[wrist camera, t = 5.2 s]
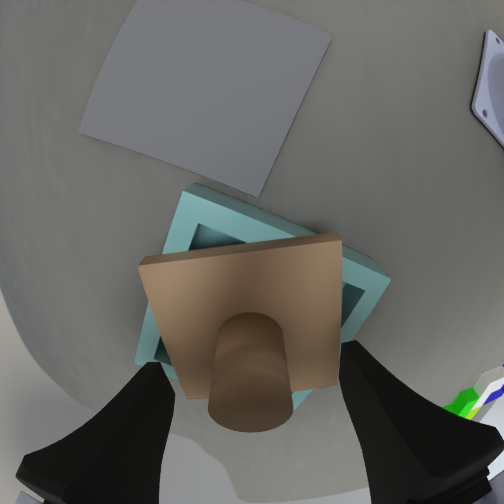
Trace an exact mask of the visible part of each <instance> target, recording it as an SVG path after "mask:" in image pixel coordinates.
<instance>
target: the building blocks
mask: <svg viewBox="0 0 504 504" xmlns="http://www.w3.org/2000/svg"><path fill="white" fill-rule="evenodd" d="M503 393H504V365H502V366H499V367H497V368H494V369H491V370H488V371H486V372H483V373H482V374H481V376H480V377H479V379H478V380H477V382H476V384H475V385H474V387H473V388H470V389H467V390H464V391H461V392H460V394H459V395H458V397H457V398H456V399H455V401H454V402H453V404H452V405H449V406H446V407H443V409H445V410H447V411H450V412H452V413H454V414H456V415H458V416H461V417H464V418H466V419H469V420H471V419H472V417H473V416H474V415H475V414H476V413H477V411H478V410H479V409H480V408H481V406H482V405H484V404H486V403H488V402H491V401H493V400H495V399H497V398H499V397H501V396H502V394H503Z"/></svg>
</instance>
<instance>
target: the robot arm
mask: <svg viewBox="0 0 504 504" xmlns="http://www.w3.org/2000/svg"><path fill="white" fill-rule="evenodd" d="M472 110H473V113H474V114H475V115H476V116H477V117H478V118H479V119H480V121H481V122H482V123H483V124H484V125H485V126H486V127H487V128H488V129H489V130H490V132H491V133H492V134H493V135H494V136H495V137H496V139H497V140H498V141H499V142H500V143H501V145H502V146H503V147H504V43H503V42H502V41H501V40H500V39H499V37H498V36H497V35H496V34H495V33H494V32H493V31H492V30H488V31H486V36H485V43H484V50H483V56H482V62H481V67H480V72H479V77H478V82H477V86H476V90H475V94H474V98H473V102H472ZM483 114H484V116H483ZM339 381H340V386H341V390H342V394H343V398H344V401H345V404H346V407H347V409H348V412H349V415H350V418H351V420H352V423H353V426H354V428H355V431H356V434H357V436H358V439H359V442H360V445H361V449H362V453H363V457H364V462H365V467H366V472H367V477H368V483H369V488H370V496H371V503H372V504H504V470H503V471H502V472H500V473H499V474H497V475H496V476H495V477H494V478H492V479H491V480H489V481H488V478H487V476H488V475H489V473H490V472H489V469H488V467H487V466H488V465H490V464H491V462H493V461H494V460H495V459H496V458H497V457H498V456H499V455H500V454H501V452H502V451H503V450H504V440H503V438H502V436H501V435H500V433H499V431H498V430H497V429H496V427H493V426H490V425H486V424H482V423H479V422H475V421H472V420H469V419H466V418H464V417H461V416H458V415H456V414H454V413H452V412H450V411H447V410H445V409H443V408H441V407H439V406H437V405H435V404H434V403H432V402H430V401H428V400H427V399H425V398H424V397H422V396H420V395H419V394H417V393H416V392H415V391H413V390H412V389H410V388H409V387H408V386H406V385H405V384H404V383H403V382H401V381H400V380H399V379H397V378H396V377H395V376H394V375H393V374H392V373H390V372H389V371H388V370H387V369H386V368H385V367H384V366H383V365H381V364H380V363H379V362H378V361H377V360H376V359H375V358H374V357H373V356H372V355H371V354H370V353H369V352H368V351H367V350H366V349H365V348H364V347H363V346H362V345H361V344H360V343H359V342H358V341H357V340H354V341H349V342H344V343H341V354H340V368H339ZM174 403H175V392H174V390H173V388H172V386H171V384H170V382H169V380H168V378H167V376H166V373H165V371H164V369H163V367H162V365H161V362H147V363H146V364H145V365H144V366H143V367H142V368H141V369H140V370H139V371H138V372H137V373H136V374H135V375H134V377H133V378H132V379H131V380H130V381H129V382H128V383H127V384H126V385H125V386H124V387H123V389H122V390H121V391H120V392H119V393H118V394H117V395H116V396H115V397H114V398H113V399H112V400H111V401H110V402H109V403H108V404H107V405H106V406H105V407H104V408H103V409H102V410H101V411H100V412H98V413H97V414H96V415H95V416H94V417H93V418H92V419H90V420H89V421H88V422H86V423H85V424H84V425H83V426H81V427H80V428H78V429H77V430H75V431H74V432H72V433H71V434H69V435H68V436H66V437H64V438H63V439H61V440H59V441H57V442H55V443H54V444H51V445H49V446H47V447H45V448H43V449H41V450H38V451H35V452H32V453H30V454H27V455H25V456H24V458H23V460H22V462H21V464H20V466H19V469H18V471H17V473H16V478H17V479H18V480H19V481H20V482H21V483H22V484H24V485H25V486H26V487H28V488H29V489H30V490H32V491H33V492H35V493H36V494H38V495H39V496H41V497H42V498H43V499H45V500H44V503H42V502H40V501H38V500H37V499H35V498H33V497H31V496H30V495H28V494H26V493H25V492H23V491H20V494H19V496H18V498H17V501H16V504H159V485H160V484H159V483H160V473H161V464H162V458H163V454H164V450H165V446H166V442H167V438H168V434H169V430H170V426H171V421H172V417H173V412H174Z"/></svg>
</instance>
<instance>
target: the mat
mask: <svg viewBox="0 0 504 504" xmlns="http://www.w3.org/2000/svg"><path fill="white" fill-rule="evenodd" d="M332 37H333V35H331V34H329V33H327V32H325V31H322V30H320V29H318V28H316V27H314V26H311V25H309V24H307V23H304V22H302V21H300V20H297V19H295V18H292V17H290V16H287V15H284V14H282V13H279V12H276V11H273V10H270V9H267V8H264V7H261V6H258V5H255V4H251V3H248V2H244V1H241V0H137V2H136V3H135V5H134V7H133V8H132V10H131V12H130V13H129V15H128V17H127V18H126V20H125V22H124V24H123V25H122V27H121V29H120V31H119V33H118V35H117V37H116V39H115V40H114V42H113V44H112V46H111V48H110V50H109V53H108V55H107V57H106V59H105V61H104V63H103V65H102V68H101V70H100V72H99V75H98V77H97V79H96V82H95V84H94V87H93V89H92V92H91V95H90V97H89V100H88V103H87V105H86V108H85V111H84V114H83V117H82V120H81V123H80V126H79V130H78V133H80V134H84V135H87V136H90V137H93V138H97V139H100V140H103V141H106V142H109V143H112V144H115V145H118V146H121V147H124V148H127V149H130V150H133V151H136V152H139V153H142V154H145V155H148V156H151V157H153V158H156V159H159V160H162V161H165V162H167V163H170V164H173V165H176V166H178V167H181V168H184V169H186V170H189V171H192V172H194V173H197V174H200V175H202V176H205V177H207V178H210V179H213V180H215V181H218V182H220V183H223V184H225V185H228V186H230V187H233V188H235V189H238V190H240V191H243V192H245V193H247V194H250V195H252V196H255V197H257V198H259V195H260V193H261V191H262V189H263V186H264V184H265V182H266V180H267V177H268V175H269V173H270V171H271V168H272V166H273V164H274V162H275V159H276V157H277V155H278V153H279V151H280V148H281V146H282V144H283V142H284V140H285V137H286V135H287V133H288V131H289V129H290V126H291V124H292V122H293V120H294V118H295V115H296V113H297V111H298V109H299V107H300V105H301V102H302V100H303V98H304V96H305V94H306V92H307V90H308V87H309V85H310V83H311V81H312V79H313V77H314V75H315V72H316V70H317V68H318V66H319V64H320V62H321V60H322V58H323V56H324V53H325V51H326V49H327V47H328V45H329V43H330V41H331V39H332Z"/></svg>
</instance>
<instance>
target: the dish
mask: <svg viewBox="0 0 504 504" xmlns="http://www.w3.org/2000/svg"><path fill="white" fill-rule="evenodd" d="M316 234H318V233H315V232H313V231H311V230H309V229H306V228H304V227H302V226H300V225H297V224H295V223H293V222H290V221H288V220H286V219H283V218H281V217H279V216H276V215H274V214H272V213H269V212H267V211H265V210H262V209H260V208H257V207H255V206H253V205H250V204H248V203H245V202H243V201H240V200H238V199H236V198H233V197H231V196H228V195H226V194H223V193H221V192H218V191H216V190H213V189H210V188H208V187H205V186H203V185H200V184H198V183H194V184H192V185H191V186H189V187H188V188H186V189H185V190H184V191H183V192H182V195H181V198H180V201H179V204H178V207H177V209H176V212H175V215H174V218H173V221H172V224H171V227H170V230H169V233H168V237H167V240H166V243H165V246H164V249H163V253H162V254H168V253H175V252H183V251H190V250H198V249H205V248H213V247H221V246H228V245H236V244H244V243H252V242H259V241H267V240H275V239H283V238H291V237H299V236H308V235H316ZM391 280H392V279H391V278H390V277H389V276H388V275H387V274H386V273H385V271H384V270H383V269H382V268H381V267H380V266H379V265H378V264H377V263H376V262H375V261H374V260H373V259H372V258H370V257H367V256H365V255H363V254H361V253H359V252H357V251H355V250H353V249H350V248H348V247H346V246H344V245H342V314H341V335H340V351H339V357H340V354H341V343H344V342H349V341H351V340H352V339H353V338H354V336H355V335H356V334H357V332H358V331H359V329H360V328H361V326H362V325H363V323H364V322H365V321H366V319H367V318H368V316H369V315H370V313H371V312H372V310H373V309H374V307H375V306H376V304H377V302H378V301H379V299H380V298H381V296H382V295H383V293H384V291H385V290H386V288H387V287H388V285H389V283H390V282H391ZM147 362H161V365H162V367H163V369H164V371H165V373H166V376H167V377H170V378H173V379H176V380H179V379H178V377H177V375H176V372H175V370H174V368H173V365H172V363H171V360H170V358H169V356H168V353H167V351H166V348H165V345H164V343H163V340H162V338H161V335H160V332H159V330H158V327H157V324H156V322H155V319H154V316H153V313H152V310H151V307H150V304H149V302H148V306H147V310H146V314H145V318H144V322H143V326H142V330H141V334H140V339H139V343H138V348H137V352H136V357H135V362H134V364H137V365H139V366H142V367H143V366H144V365H145V364H146V363H147ZM312 390H313V389H309V390H302V391H295V392H291V393H292V400H293V407H294V408H293V411H295V410H296V409H297V407H298V406H299V405H300V404H301V403H302V402H303V401H304V400H305V398H306V397H307V396H308V395H309V394H310V393H311V391H312Z"/></svg>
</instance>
